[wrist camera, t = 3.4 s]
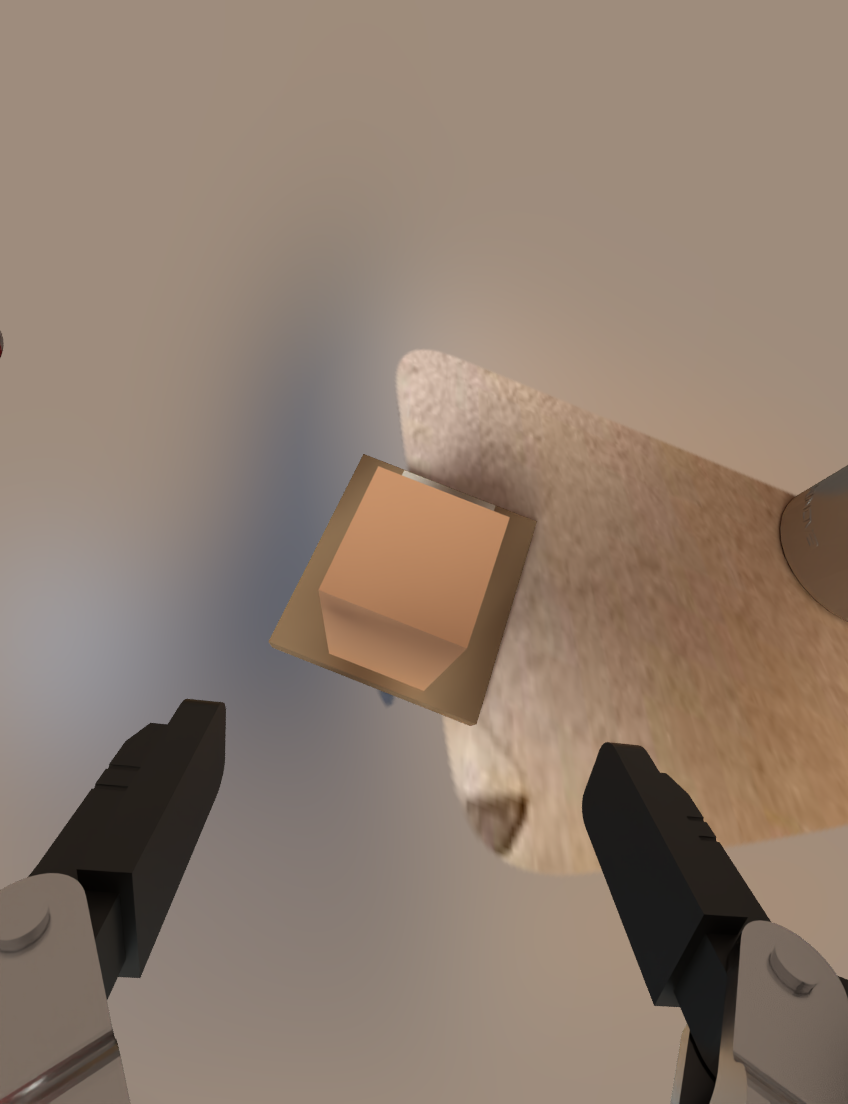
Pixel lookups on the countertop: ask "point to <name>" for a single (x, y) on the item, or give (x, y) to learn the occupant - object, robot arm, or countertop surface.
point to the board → (471, 671)
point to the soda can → (1, 343)
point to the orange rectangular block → (409, 579)
